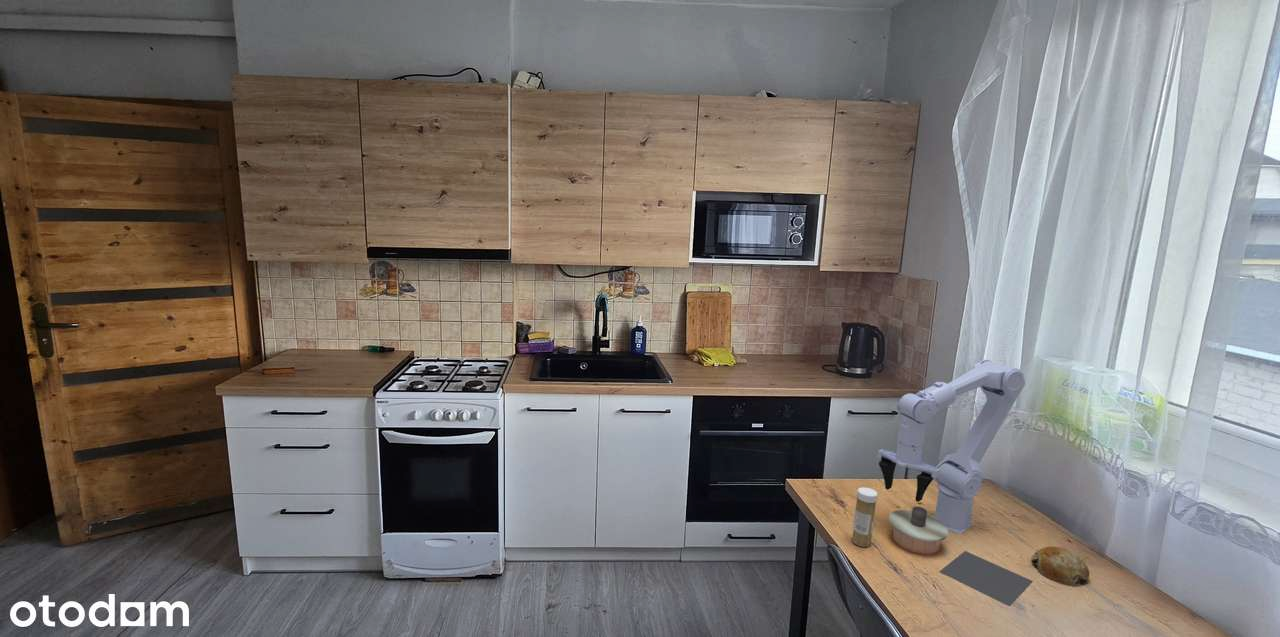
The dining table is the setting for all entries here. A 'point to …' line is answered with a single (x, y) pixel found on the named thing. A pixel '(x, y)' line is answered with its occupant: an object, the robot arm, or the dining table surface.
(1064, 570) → the bread roll
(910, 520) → the lid
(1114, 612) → the dining table surface
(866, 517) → the sprinkles bottle
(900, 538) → the bowl
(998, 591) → the mat
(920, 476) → the robot arm
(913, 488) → the dining table surface
